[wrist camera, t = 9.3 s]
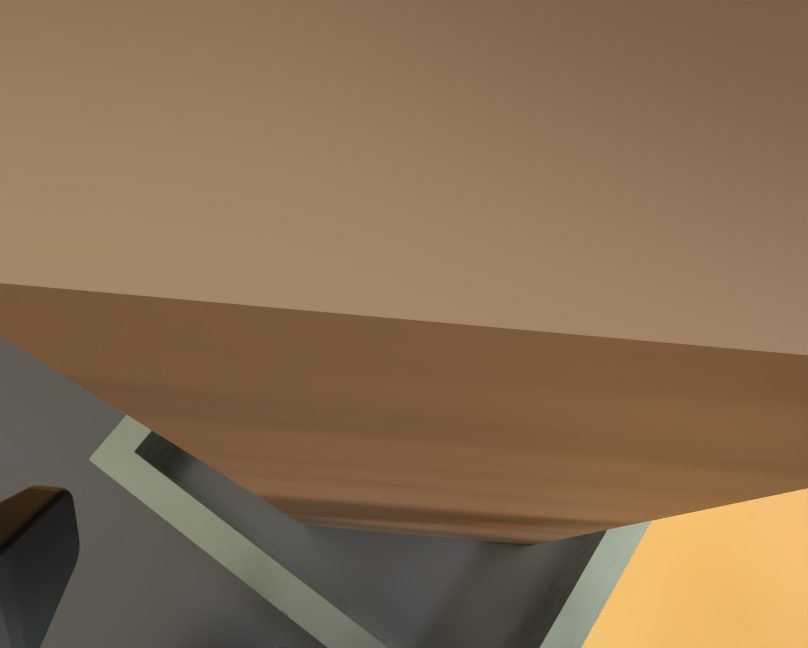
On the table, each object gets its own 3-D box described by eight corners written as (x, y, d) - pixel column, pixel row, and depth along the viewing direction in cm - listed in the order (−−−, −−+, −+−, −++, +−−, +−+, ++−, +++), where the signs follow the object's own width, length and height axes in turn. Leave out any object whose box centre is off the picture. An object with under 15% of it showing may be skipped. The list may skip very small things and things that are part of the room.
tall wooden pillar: (529, 546, 17) (1258, 396, 3) (304, 525, 17) (-102, 274, 3) (534, 333, 19) (984, -399, 5) (331, 315, 19) (170, -466, 5)
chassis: (221, 1207, 14) (176, 1386, 11) (-299, 687, 16) (-452, 712, 13) (716, 342, 20) (774, 301, 17) (280, 75, 23) (265, -1, 20)
